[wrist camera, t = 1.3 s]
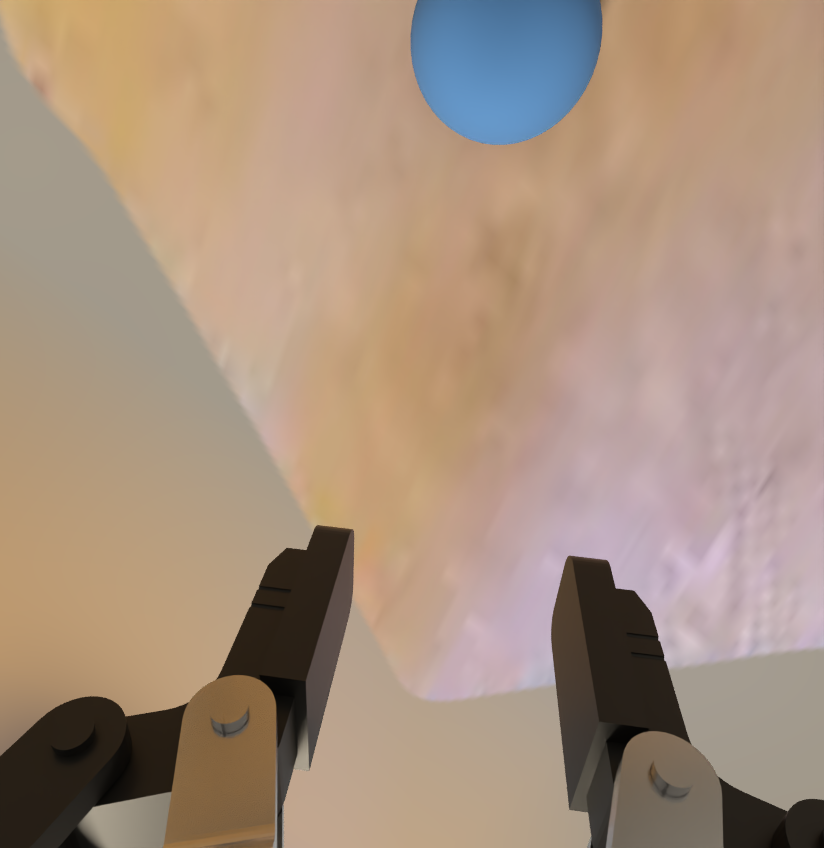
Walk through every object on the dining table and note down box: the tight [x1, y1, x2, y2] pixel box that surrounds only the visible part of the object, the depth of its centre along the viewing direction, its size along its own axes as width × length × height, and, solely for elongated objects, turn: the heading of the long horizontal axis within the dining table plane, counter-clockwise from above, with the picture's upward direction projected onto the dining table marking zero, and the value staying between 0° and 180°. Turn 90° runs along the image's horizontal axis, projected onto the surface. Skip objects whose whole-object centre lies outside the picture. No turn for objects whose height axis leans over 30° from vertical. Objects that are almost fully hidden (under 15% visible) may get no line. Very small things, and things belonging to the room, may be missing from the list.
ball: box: [411, 0, 602, 145], centre depth 20 cm, size 6×6×6 cm
